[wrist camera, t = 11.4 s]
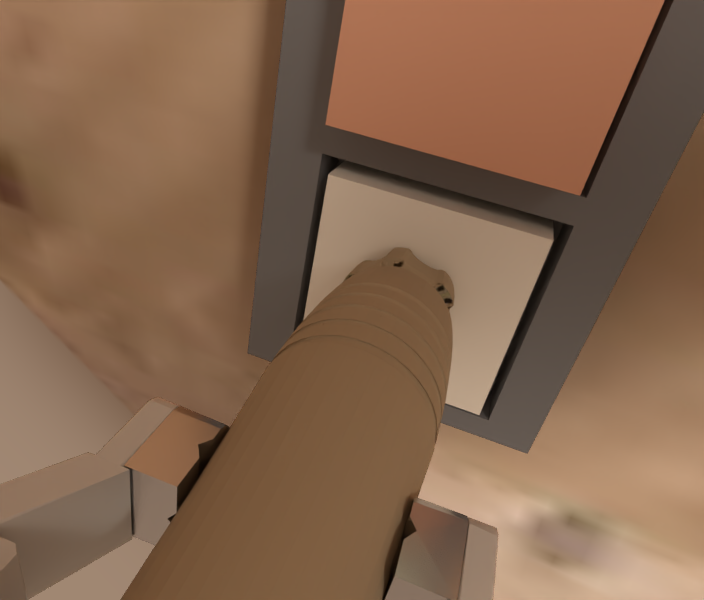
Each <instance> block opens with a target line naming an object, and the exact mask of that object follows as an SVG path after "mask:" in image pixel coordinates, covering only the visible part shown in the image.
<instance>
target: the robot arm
mask: <svg viewBox="0 0 704 600" xmlns="http://www.w3.org/2000/svg"><path fill="white" fill-rule="evenodd" d="M229 428H230V427H229V426H227V425H225V424H223V423H220V422H218V421H215V420H213V419H211V418H208V417H206V416H203V415H201V414H199V413H196V412H194V411H191V410H189V409H187V408H184V407H182V406H179V405H177V404H174V403H172V402H169V401H167V400H164V399H162V398H159V397H155V398H153V399H151V400H150V401H148V402H147V403H146V404H145V405H144V406H143V407H142V408H141V409H140V410H139V411H138V412H137V413H136V414H135V415H134V416H133V417H132V418H131V419H130V420H129V421H128V423H127V424H125V425H124V426H123V427H122V428H121V429H120V431H118V432H117V434H116V435H115V436H114V437H113V438H112V439H111V440H110V441H109V442H108V443H107V444H106V445H105V446H104V447H103V448H102V449H101V450H100V451H99V452H98V453H97V454H96V455H94V454H91V453H89V452H88V453H85V454H82V455H79V456H77V457H74V458H71V459H68V460H66V461H63V462H60V463H57V464H54V465H52V466H49V467H46V468H44V469H41V470H38V471H35V472H32V473H30V474H27V475H24V476H21V477H18V478H16V479H13V480H10V481H7V482H5V483H2V484H0V600H29V599H30V598H32V597H33V596H35V595H37V594H39V593H40V592H42V591H44V590H45V589H47V588H49V587H51V586H52V585H54V584H56V583H58V582H59V581H61V580H63V579H64V578H66V577H68V576H69V575H71V574H73V573H74V572H76V571H78V570H80V569H81V568H83V567H85V566H87V565H88V564H90V563H92V562H94V561H95V560H97V559H99V558H101V557H102V556H104V555H106V554H107V553H109V552H111V551H113V550H114V549H116V548H118V547H119V546H121V545H123V544H124V543H126V542H128V541H130V540H131V539H132V536H133V537H136V538H139V539H141V540H143V541H146V542H148V543H151V544H153V545H156V544H157V542H158V541H159V539H160V538H161V536H162V535H163V533H164V532H165V530H166V529H167V527H168V525H169V524H170V522H171V521H172V519H173V518H174V516H175V515H176V513H177V512H178V510H179V508H180V507H181V505H182V504H183V502H184V501H185V499H186V498H187V496H188V495H189V493H190V491H191V490H192V488H193V487H194V485H195V483H196V482H197V480H198V479H199V477H200V475H201V474H202V472H203V471H204V469H205V467H206V466H207V464H208V462H209V461H210V459H211V458H212V456H213V454H214V453H215V451H216V449H217V448H218V446H219V445H220V443H221V441H222V440H223V438H224V437H225V435H226V433H227V432H228V430H229ZM498 535H499V534H498V531H497V528H495V527H493V526H490V525H487V524H485V523H482V522H480V521H477V520H474V519H472V518H468V517H467V516H465V515H463V514H460V513H457V512H454V511H452V510H449V509H446V508H444V507H441V506H438V505H436V504H433V503H430V502H428V501H425V500H422V499H419V498H417V497H414V498H413V500H412V503H411V506H410V510H409V513H408V517H407V520H406V524H405V527H404V530H403V534H402V539H401V547H400V550H399V552H398V555H397V557H396V560H395V562H394V565H393V569H392V573H391V576H390V579H389V581H388V584H387V587H386V590H385V593H384V596H383V599H382V600H493V595H494V583H495V571H496V559H497V547H498Z"/></svg>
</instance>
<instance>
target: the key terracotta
mask: <svg viewBox="0 0 704 600" xmlns="http://www.w3.org/2000/svg"><path fill="white" fill-rule="evenodd" d="M664 1H665V0H345V5H344V12H343V18H342V24H341V30H340V37H339V43H338V49H337V55H336V62H335V68H334V74H333V80H332V87H331V93H330V99H329V105H328V112H327V118H326V124H325V125H328V126H331V127H335V128H339V129H342V130H346V131H349V132H353V133H357V134H360V135H364V136H367V137H371V138H375V139H378V140H382V141H385V142H389V143H392V144H396V145H400V146H403V147H407V148H410V149H414V150H418V151H421V152H425V153H428V154H432V155H435V156H439V157H443V158H446V159H450V160H453V161H457V162H461V163H464V164H468V165H471V166H475V167H479V168H482V169H486V170H489V171H493V172H496V173H500V174H504V175H507V176H511V177H514V178H518V179H522V180H525V181H529V182H532V183H536V184H540V185H543V186H547V187H550V188H554V189H557V190H561V191H565V192H568V193H572V194H575V195H579V196H580V195H581V192H582V190H583V188H584V185H585V183H586V181H587V178H588V176H589V174H590V172H591V169H592V167H593V165H594V162H595V160H596V158H597V155H598V153H599V151H600V148H601V146H602V144H603V142H604V139H605V137H606V135H607V132H608V130H609V128H610V125H611V123H612V121H613V118H614V116H615V114H616V112H617V109H618V107H619V105H620V102H621V100H622V98H623V95H624V93H625V91H626V88H627V86H628V84H629V82H630V79H631V77H632V75H633V72H634V70H635V68H636V65H637V63H638V61H639V58H640V56H641V54H642V52H643V49H644V47H645V45H646V42H647V40H648V38H649V35H650V33H651V31H652V28H653V26H654V24H655V22H656V19H657V17H658V15H659V12H660V10H661V8H662V5H663V3H664Z"/></svg>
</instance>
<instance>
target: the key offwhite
mask: <svg viewBox="0 0 704 600" xmlns="http://www.w3.org/2000/svg"><path fill="white" fill-rule="evenodd" d="M553 241H554V235H553V220H551V219H548V218H545V217H541V216H538V215H534V214H531V213H527V212H524V211H520V210H517V209H513V208H510V207H506V206H503V205H499V204H496V203H492V202H489V201H486V200H482V199H479V198H475V197H472V196H468V195H465V194H461V193H458V192H454V191H451V190H447V189H444V188H440V187H437V186H433V185H430V184H427V183H423V182H420V181H416V180H413V179H409V178H406V177H402V176H399V175H395V174H392V173H388V172H385V171H381V170H378V169H374V168H371V167H367V166H364V165H361V164H357V163H354V162H350V161H347V160H345V161H344V162H343V163H342V164H340V165H339V166H338V167H337V168H335V169H334V170H333V171H332V172H331V173H329V174H328V179H327V185H326V191H325V196H324V202H323V208H322V214H321V220H320V226H319V232H318V237H317V243H316V249H315V255H314V261H313V267H312V273H311V278H310V284H309V290H308V296H307V302H306V308H305V314H304V319H305V318H306V317H307V316H308V315H309V314H310V313H311V312H312V311H313V309H314V308H315V307H316V306H317V305H318V304H319V303H320V302H321V301H322V300H323V299H324V298H325V297H326V296H327V295H328V294H329V293H330V292H332V291H333V290H334V289H335V288H336V287H337V286H339V285H340V284H341V283H343V281H344V279H345V278H346V276H347V275H348V274H349V273H350V272H351V271H352V270H353V269H354V268H355V267H356V266H357V265H358V264H360V263H361V262H363V261H365V260H371V261H375V260H378V259H381V258H383V257H385V256H387V254H388V253H389V252H390V251H391V250H392V249H394V248H395V247H402V248H409V249H410V250H411V251H412V253H413V254H414V256H415V257H416V258H417V259H419V260H420V261H421V262H423V263H424V264H426V265H427V266H429V267H431V268H434V269H436V270H444V271H445V272H446V273H447V274H448V275H449V276H450V278H451V280H452V282H453V285H454V295H455V297H454V305H453V307H451V308H450V311H449V312H450V316H451V321H452V330H453V347H452V360H451V369H450V376H449V383H448V389H447V396H446V402H445V403H446V404H449V405H452V406H455V407H458V408H460V409H463V410H466V411H469V412H472V413H475V414H477V415H480V412H481V410H482V408H483V405H484V403H485V401H486V398H487V396H488V394H489V391H490V389H491V387H492V384H493V382H494V380H495V377H496V375H497V372H498V370H499V368H500V365H501V363H502V361H503V358H504V356H505V354H506V351H507V349H508V347H509V344H510V342H511V340H512V337H513V335H514V333H515V330H516V328H517V326H518V323H519V321H520V318H521V316H522V314H523V311H524V309H525V307H526V304H527V302H528V300H529V297H530V295H531V293H532V290H533V288H534V286H535V283H536V281H537V279H538V276H539V274H540V271H541V269H542V267H543V264H544V262H545V260H546V257H547V255H548V253H549V250H550V248H551V246H552V243H553ZM304 319H303V320H304Z"/></svg>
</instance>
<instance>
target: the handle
mask: <svg viewBox="0 0 704 600" xmlns="http://www.w3.org/2000/svg"><path fill="white" fill-rule="evenodd" d="M454 297H455V295H454V285H453V282H452V280H451V278H450V276H449V275H448V274H447V273H446V272H445V271H444V270H436V269H434V268H431V267H429V266H427V265H426V264H424V263H423V262H421V261H420V260H419V259H417V258H416V257H415V256H414V254H413V253H412V251H411V250H410V249H409V248H402V247H395V248H394V249H392V250H391V251H390V252H389V253H388V254H387V256H385V257H383V258H381V259H378V260H375V261H371V260H365V261H363V262H361V263H360V264H358V265H357V266H356V267H355V268H354V269H353V270H352V271H351V272H350V273H349V274H348V275H347V276H346V278H345V279H344V281H343V283H341V284H340V285H339V286H337V287H336V288H335V289H334V290H333V291H332V292H330V293H329V294H328V295H327V296H326V297H325V298H324V299H323V300H322V301H321V302H320V303H319V304H318V305H317V306H316V307H315V308H314V309H313V311H312V312H311V313H310V314H309V315H308V316H307V317H306V318H305V319H304V320H303V321H302V323H301V324H300V325H299V326H298V327H297V328H296V330H295V331H294V332H293V333H292V335H291V336H290V337H289V338H288V340H287V341H286V342H285V344H284V346H283V347H282V348H281V349H280V350H279V352H278V353H277V354H276V356H275V357H274V359H273V360H272V362H271V363H270V365H269V366H268V367H267V368H266V370H265V372H264V373H263V375H262V377H261V378H260V380H259V381H258V383H257V385H256V386H255V388H254V390H253V391H252V393H251V394H250V396H249V398H248V399H247V401H246V402H245V404H244V406H243V407H242V409H241V411H240V412H239V414H238V415H237V417H236V419H235V420H234V422H233V424H232V425H231V427H230V428H229V430H228V432H227V433H226V435H225V437H224V438H223V440H222V441H221V443H220V445H219V446H218V448H217V449H216V451H215V453H214V454H213V456H212V458H211V459H210V461H209V462H208V464H207V466H206V467H205V469H204V471H203V472H202V474H201V475H200V477H199V479H198V480H197V482H196V483H195V485H194V487H193V488H192V490H191V491H190V493H189V495H188V496H187V498H186V499H185V501H184V502H183V504H182V505H181V507H180V508H179V510H178V512H177V513H176V515H175V516H174V518H173V519H172V521H171V522H170V524H169V525H168V527H167V529H166V530H165V532H164V533H163V535H162V536H161V538H160V539H159V541H158V542H157V544H156V546H155V547H154V549H153V550H152V552H151V553H150V555H149V556H148V558H147V559H146V561H145V563H144V564H143V566H142V567H141V569H140V570H139V572H138V574H137V575H136V577H135V578H134V580H133V581H132V583H131V584H130V586H129V587H128V589H127V590H126V592H125V594H124V595H123V597H122V598H121V600H382V599H383V596H384V593H385V590H386V587H387V584H388V581H389V579H390V576H391V573H392V569H393V565H394V562H395V560H396V557H397V555H398V552H399V550H400V547H401V539H402V534H403V530H404V527H405V524H406V520H407V517H408V513H409V510H410V506H411V503H412V500H413V498H414V497H417V498H418V495H419V492H420V489H421V486H422V483H423V480H424V478H425V475H426V472H427V469H428V466H429V463H430V460H431V457H432V454H433V451H434V446H435V443H436V440H437V436H438V432H439V428H440V423H441V419H442V415H443V411H444V405H445V402H446V396H447V389H448V383H449V376H450V369H451V360H452V347H453V330H452V321H451V316H450V312H449V311H450V308H451V307H453V305H454Z"/></svg>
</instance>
